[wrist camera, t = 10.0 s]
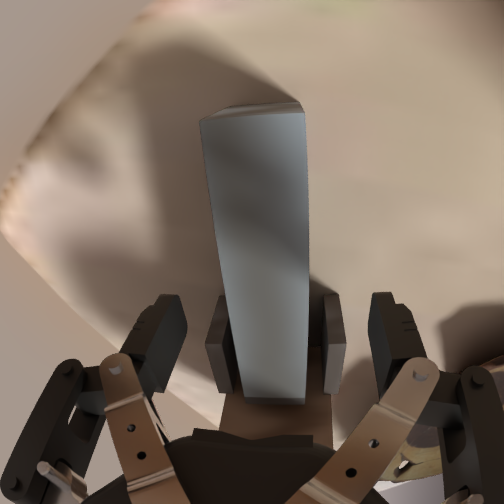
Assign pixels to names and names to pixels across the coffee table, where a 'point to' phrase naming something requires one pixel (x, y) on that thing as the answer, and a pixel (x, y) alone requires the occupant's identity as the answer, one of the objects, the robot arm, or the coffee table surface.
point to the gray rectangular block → (263, 241)
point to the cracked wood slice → (431, 441)
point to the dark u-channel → (280, 416)
